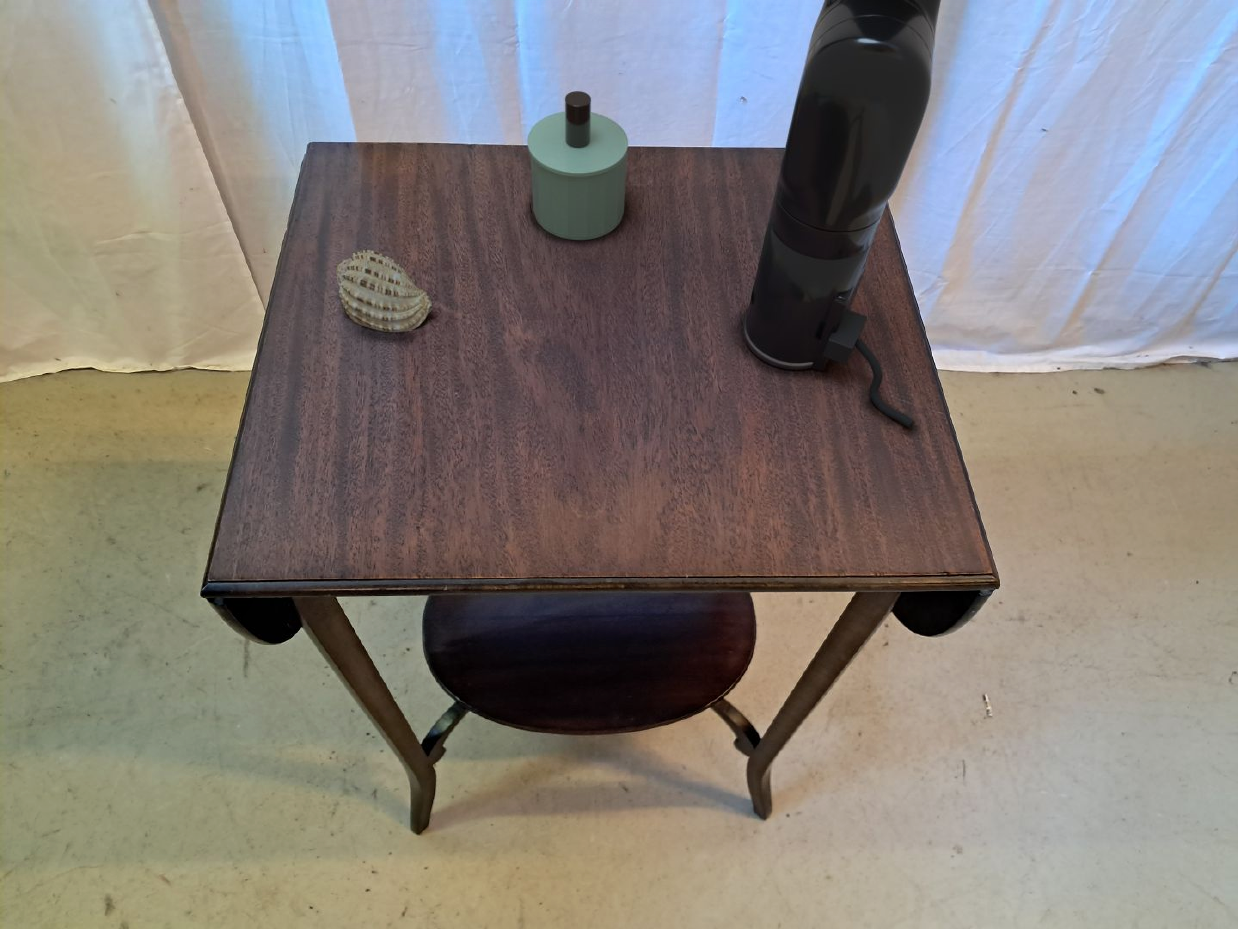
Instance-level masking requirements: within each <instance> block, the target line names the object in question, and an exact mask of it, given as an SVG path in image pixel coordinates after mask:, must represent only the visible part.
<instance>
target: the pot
mask: <svg viewBox="0 0 1238 929" xmlns="http://www.w3.org/2000/svg"><path fill="white" fill-rule="evenodd" d="M627 164H628V153H627V154H626V156H625V158H624V159H623V160H622V162H621V163H620V164H619V165H617V166H616V167H615V168H613V169H611V170H609V171H607V172H605V173H602V174H598V175H594V176H587V177H571V176H564V175H560V174H556V173H554V172H551V171H549V170H547V169H545V168H543V167H541V166H540V165H539V164H537V163H536V162H535V161H534V160H533V158H532V157H531V156H530V171H531V172H530V174H531V194H532V195H531V196H532V210H533V211H532V212H533V215H534V218H535V220H536V222H537V223H538V224H539V226H540V227H542V229H544V230H545V231H546V232H548V233H550V235H554V236H556V237H559V238H561V239H566V240H571V241H588V240H594V239H597V238H598V239H599V238H601V237H604V236H606V235H608V234H610V233H611V232H612V231H613V230H615V229H616V228H617V227H618V226H619V225H620V223H621V221H622V219H623V216H624V214H625V202H626V201H625V200H626V199H625V198H626V184H627V182H626V181H627V166H628V165H627Z"/></svg>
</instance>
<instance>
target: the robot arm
mask: <svg viewBox="0 0 1238 929" xmlns="http://www.w3.org/2000/svg"><path fill="white" fill-rule="evenodd" d="M941 2H942V0H824V1H823V4H822V6H821V9H820V12H819V14H818V17H817V19H816V21H815V24H814V27H813V29H812V32H811V36H810V40H809V43H808V48H807V51H806V56H805V61H804V66H803V67H802V68H803V69H802V74H801V77H800V81H799V84H798V88H797V93H796V97H795V102H794V105H793V106H794V107H793V109H792V115H791V119H790V124H789V128H788V133H787V137H786V142H785V147H784V151H783V156H782V159H781V162H780V167H779V168H780V169H779V172H778V178H777V181H776V187H775V191H774V195H773V200H772V204H771V208H770V212H769V217H768V221H767V226H766V231H765V234H764V238H763V243H762V248H761V251H760V256H759V260H758V264H757V270H756V273H755V276H754V278H753V280H752V281H753V282H751V283H752V284H751V287H752V288H751V290H750V292H751V293H750V294H749V300H748V306H747V310H746V314H745V317H744V321H743V325H742V334H743V338H744V341H745V343H746V345H747V346H748V348H749V349H750V351H751V352H752V353H753V354H754V355H755V356H756V357H758V358H759V359H760V360H762V361H763V362H765V363H767V364H769V365H771V366H774V367H777V368H780V369H785V370H790V371H791V370H794V371H800V370H807V369H808V370H809V369H813V370H816V371H819V372H823V371H824V370H825V367H826V365H827V364H828V362H829V360H833V361H834V362H838V363H839V364H843V365H845V366H846V365H847V364H848V363H849V359H850V358H851V356H852V354H853V352H854V351H855V350H854V349H855V348H856V349H857V350H858V352H859V353H860V354H861V356H863V357H864V358H865V360H866V361H867V363H868V364H869V366H870V367H871V368H870V369H871V370H872V375H873V377H872V381H871V382H870V383H871V384H870V386H869V397H870V399H871V401H872V403H873V405H874V406H875V407H876V408H877V410H879V411H880V413H882V414H884V415H885V416H887V417H888V418H890V419H892V420H895V421H896V422H898V423H900V424H902V425H904V426H905V427H906V428H908V429H909V428H911V427H912V425H913V424H914V423H915V420H914V419H913V418H911V417H909V416H907V415H906V414H904V413H902V412H901V411H899V410H896V409H894V408H892V407H891V406H889V405H888V404H887V403H886V402H885V401H884V400H883V399H882V397H881V395H880V392H879V391H880V386H881V385H882V382H883V377H884V376H883V374H884V373H883V370H882V366H881V364H880V362H879V360H878V358H877V357H876V356H875V354H874V353H873V352H872V351H871V349H870V348H869V346H867V344H865V342H864V341H863V339H862V338H860V337H861V335H862V333H863V330H864V328H865V326H866V323H867V320H868V317H869V316H867V315H864V314H862V313H859V312H857V311H854V310H851V309H852V307H853V303H854V301H855V298H856V296H857V293H858V290H859V288H860V285H861V282H862V280H863V277H864V273H865V271H866V268H867V262H866V260H867V259H868V255H869V252H870V249H871V247H872V245H873V242H874V238H875V236H876V233H877V231H878V228H879V225H880V222H881V219H882V216H883V213H884V211H885V208H886V205H887V203H888V201H889V200H890V199H891V198H892V196H893V195H894V194H895V191H896V190H897V188H898V186H899V183H900V180H901V177H902V175H903V172H904V170H905V168H906V165H907V163H908V160H909V157H910V155H911V152H912V149H913V147H914V145H915V142H916V139H917V137H918V134H919V131H920V130H921V126H922V123H923V120H924V118H925V115H926V112H927V109H928V105H929V103H930V102H929V101H930V97H931V92H932V83H933V72H934V61H935V49H936V48H935V47H936V37H937V36H936V35H937V26H938V19H939V13H940V8H941V7H940V6H941Z"/></svg>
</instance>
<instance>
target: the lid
mask: <svg viewBox="0 0 1238 929" xmlns="http://www.w3.org/2000/svg"><path fill="white" fill-rule="evenodd" d="M526 139H527V140H526V144H527V145H526V146H527V150H528V154H529V156H530V158H531V157H532V158H533V160H534V161H535V162H536V163H537V164H539V165H540V166H541V167H543V168H545V169H547V170H549V171H551V172H554V173H556V174H560V175H564V176H571V177H587V176H594V175H598V174H602V173H605V172H607V171H609V170H611V169H613V168H615V167H616V166H617V165H619V164H620V163H621V162H622V160H623V159H624V158H625V156H626V154H627V155H628V150H629V139H628V135H627V133H626V131H625V130H624V128H623V127H622V126H621V125H620V124H619V123H617V122H616V121H615V120H614V119H611V118H610V117H608V116H606V115H603V114H599V113H597V112H593V111H592V97H591V96H590V94H589V93H587V92H585V91H581V90H575V91H570V92H568V93H567V94H566V95H565V97H564V111H560V112H556V113H552V114H550V115H547V116H545V117H543V118H542V119H540V120H539V121H537V122H536V123H535V124H534V125H533V126H532V127H531V129H530V130H529V132H528V135H527V138H526Z"/></svg>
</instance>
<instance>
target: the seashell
mask: <svg viewBox="0 0 1238 929" xmlns="http://www.w3.org/2000/svg"><path fill="white" fill-rule="evenodd" d="M335 267H336V274H335V275H336V282H337V286H338V289H339V291H338V293H339V299H340V302H341V304H342V306H343V309H344V312H345V313H346V314H347V316H348V317H349V318H350V319H351V320H352V322H354V323H355V324H357V325H358V326H363V327H367V328H369V329H372V330H376V331H378V332H384V333H385V332H386V333H403V332H411V333H413V330H414V329H416V328H417V327H420V326H421V324H422V323H423V322H424V321H425V320H426V318H427V316H428V315H429V314H430V313H431V312H432V311H433V310H434V305H433V302H432V301H431V300H432V298H431V297H430V296H429V295H428V292H427V291H424V289H421V287H418V286H416V285H415V283H414V281H413V280H412V279H411V278H410V277H409V275H408V272H407V271H406V270H405V269H404V268H403V267H402V266H401V264H399V263H398V262H397V261H396V260H394V259H392V258H391V257H389V256H387V255H386V254H382V253H380V252H377V251H374V250H370V249H361V250H359V251H357V252H353V254H352V256H351V257H349V258H348V259H343V260H342V262H340V263H339V264H335Z"/></svg>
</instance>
